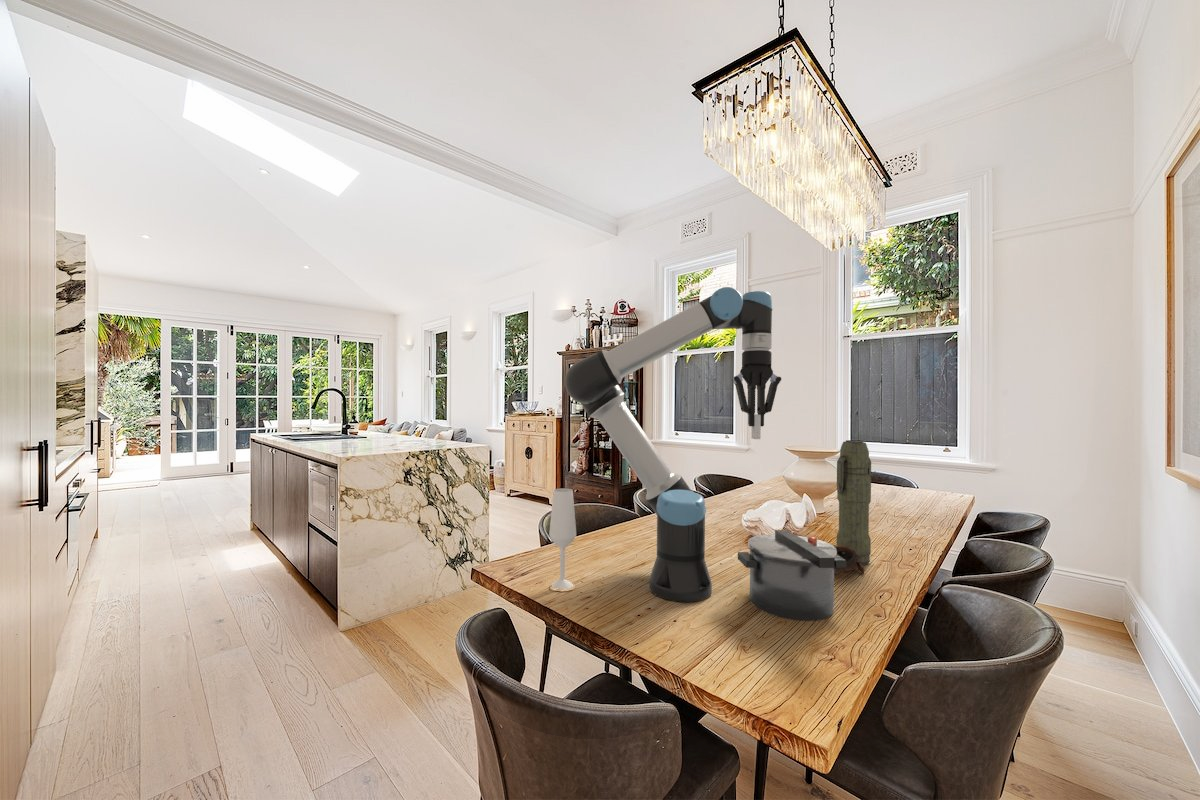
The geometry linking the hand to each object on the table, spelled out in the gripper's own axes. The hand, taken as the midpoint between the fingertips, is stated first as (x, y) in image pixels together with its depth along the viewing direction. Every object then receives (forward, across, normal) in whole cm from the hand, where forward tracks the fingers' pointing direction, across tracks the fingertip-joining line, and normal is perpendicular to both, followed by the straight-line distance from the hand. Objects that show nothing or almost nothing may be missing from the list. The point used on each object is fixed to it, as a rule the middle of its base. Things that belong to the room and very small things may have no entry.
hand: (755, 438), depth 129 cm
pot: (+36, +2, -16) cm, 40 cm away
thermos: (+37, +34, +12) cm, 51 cm away
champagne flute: (+37, -51, -8) cm, 63 cm away
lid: (+24, +2, -21) cm, 32 cm away
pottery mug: (+37, +25, +2) cm, 45 cm away
